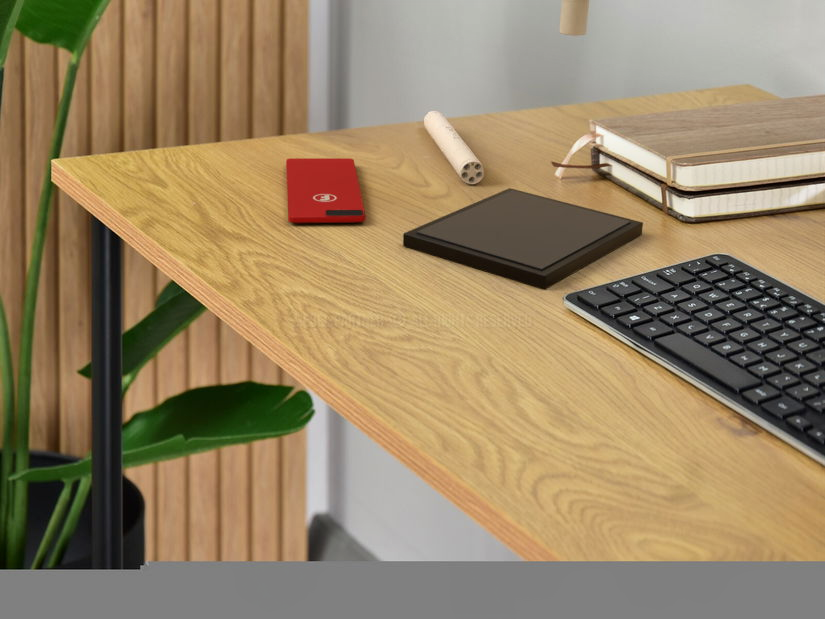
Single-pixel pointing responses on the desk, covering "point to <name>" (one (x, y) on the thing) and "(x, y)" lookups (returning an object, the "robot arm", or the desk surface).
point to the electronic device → (323, 191)
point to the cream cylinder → (454, 148)
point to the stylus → (574, 17)
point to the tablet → (524, 237)
